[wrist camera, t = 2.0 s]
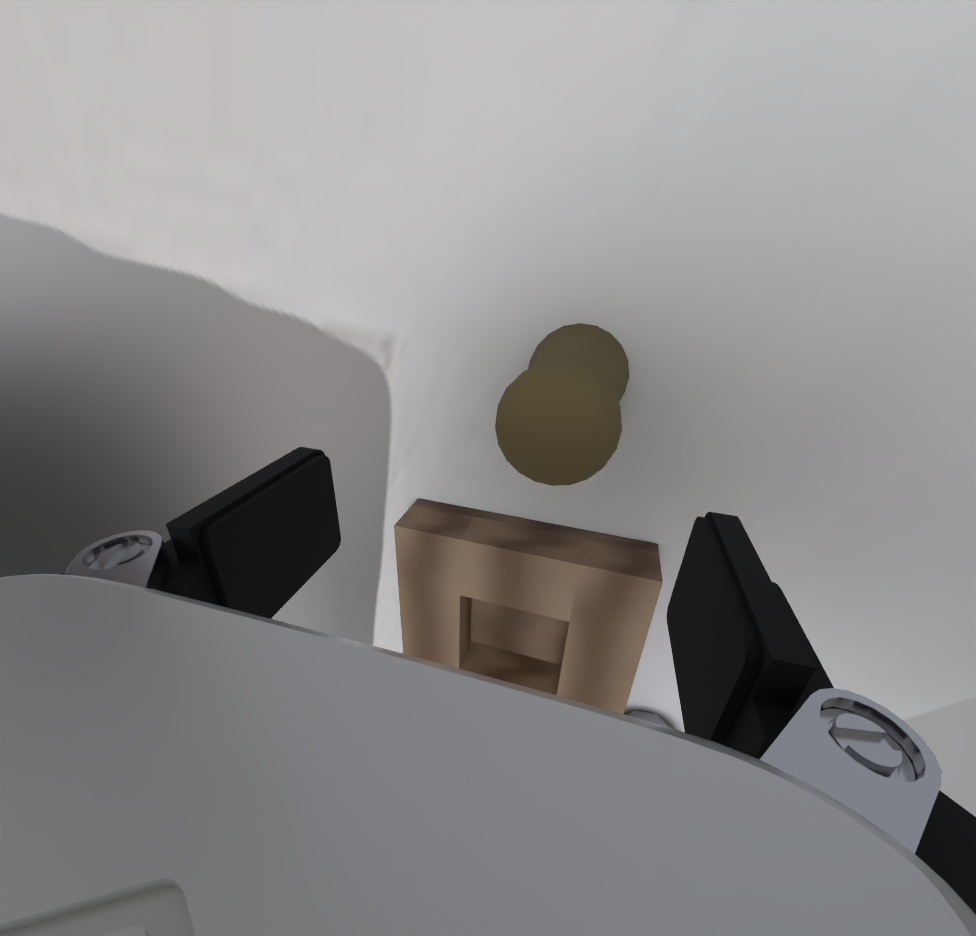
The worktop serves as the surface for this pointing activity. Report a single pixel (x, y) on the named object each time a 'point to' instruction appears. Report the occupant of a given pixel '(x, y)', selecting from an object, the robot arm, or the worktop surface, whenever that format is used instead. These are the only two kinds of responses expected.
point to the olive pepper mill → (565, 407)
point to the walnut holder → (526, 600)
